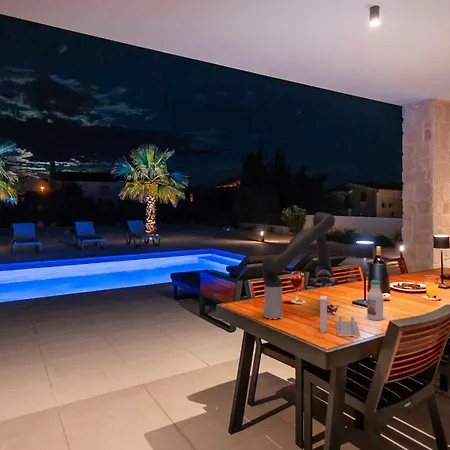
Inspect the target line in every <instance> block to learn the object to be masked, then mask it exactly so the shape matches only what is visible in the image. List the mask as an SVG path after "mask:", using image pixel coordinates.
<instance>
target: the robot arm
mask: <svg viewBox="0 0 450 450" xmlns="http://www.w3.org/2000/svg"><path fill="white" fill-rule="evenodd" d="M335 222H336V218H335V216H334V215H332V214H330V213H326V212H316V213H315V214H314V215H313V218H312V227H310V228H307V229H305V230H301V231H299V232H297V234H295V235H293V237H292V238H291V239H290V240H289V242H288V244H287V248H286V249H285V250H284V251H283V252H281V253H280V254H279V255H273V254H267V255H266V256H264V257H263V260H262V265H261V267H262V270H261V271H262V280H263V283H264V300H263V314H264V315H263V317H268V318H280V317H282V318H283V281H282V280H281V278H280V277H279V275H278V274H280V273H282V272H284V271H285V269H286V268H288V266H290V264H291V263H292V262H293V261H294V260H295V259H296V258H297V257H298V256H299V255H300V254H302V253H303V252H304V251H305V250H306V249H307V248H308V247H310V245H312V244H313V243H314V242H316V248H317V250H316V252H317V262H318V264H322V266H321V265H318V266H316V267H315V268H314V275H315V278H314V277H310V279H309V285H313V286H314V287H317V285H318V286H321V287H328V286H331V287H333V288H334V287H335V286H338V285H339V280H338V278H334V279H333V275H334V269H333V267H332V264H331V251H330V246H329V244H328V241H327V240H326V236H325V234H326V233H327V232H329V231H330V230H331V229H333V227H334V226H335V224H336V223H335Z"/></svg>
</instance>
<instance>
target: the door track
mask: <svg viewBox="0 0 450 450" xmlns="http://www.w3.org/2000/svg"><path fill="white" fill-rule="evenodd" d="M335 327H336V328H337V330H336V334H337V333H340V334H344V335H355V336H360V337H361V335H360V330H359V325H358V322H357V321H355V317H354V316H351V317H350V321H344V320H343V318H342V316H340V315H339V316H338V320H336V321H335Z"/></svg>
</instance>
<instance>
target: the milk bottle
mask: <svg viewBox="0 0 450 450" xmlns="http://www.w3.org/2000/svg"><path fill="white" fill-rule="evenodd" d="M383 295H384V294H383V293H382V290H381V281H380V280H378V279H372V280H370V289H369V291H368V294H367V300H366V301H367V306H366V308H367V311H366V312H367V313H366V314H367V315H366V316H367V319H368V318H369V320H370V319H371V320H370V321H382V320H383V319H384V296H383Z"/></svg>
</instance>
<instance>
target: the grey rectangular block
mask: <svg viewBox="0 0 450 450" xmlns="http://www.w3.org/2000/svg"><path fill="white" fill-rule="evenodd" d="M319 299H320V302H319V303H320V305H319V306H320V312H319V313H320V314H319V315H320V317H319V319H320V322H319V323H320V329H319V330H322V331H327V332H328V295H320V298H319Z"/></svg>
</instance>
